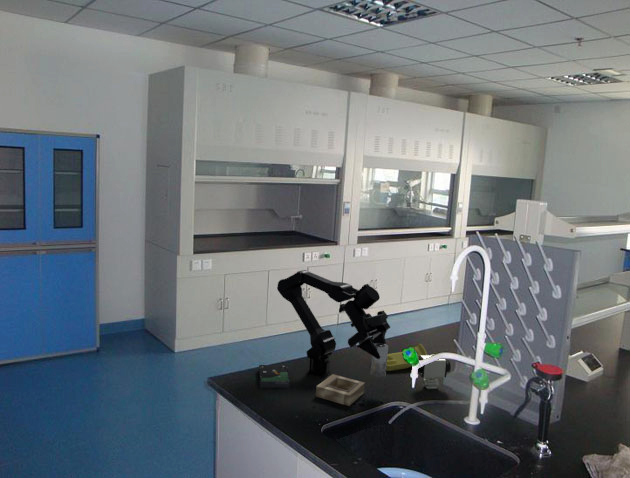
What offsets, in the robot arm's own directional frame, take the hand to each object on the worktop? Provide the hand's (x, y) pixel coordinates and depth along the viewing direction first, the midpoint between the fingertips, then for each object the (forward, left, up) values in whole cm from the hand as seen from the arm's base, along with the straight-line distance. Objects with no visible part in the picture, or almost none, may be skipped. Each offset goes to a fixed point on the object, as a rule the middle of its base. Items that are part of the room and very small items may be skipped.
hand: (383, 356), depth 169 cm
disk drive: (-36, -9, -14) cm, 40 cm away
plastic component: (-3, +30, -14) cm, 33 cm away
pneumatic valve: (+12, +17, -14) cm, 25 cm away
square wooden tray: (-11, -7, -13) cm, 19 cm away
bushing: (-1, 0, -7) cm, 7 cm away
